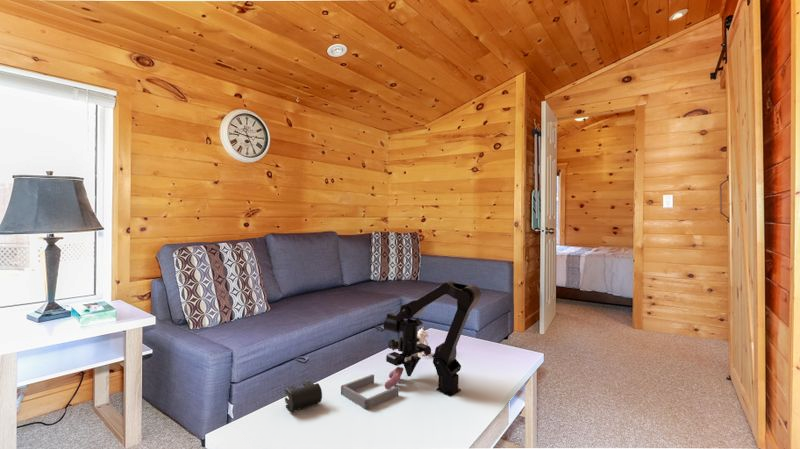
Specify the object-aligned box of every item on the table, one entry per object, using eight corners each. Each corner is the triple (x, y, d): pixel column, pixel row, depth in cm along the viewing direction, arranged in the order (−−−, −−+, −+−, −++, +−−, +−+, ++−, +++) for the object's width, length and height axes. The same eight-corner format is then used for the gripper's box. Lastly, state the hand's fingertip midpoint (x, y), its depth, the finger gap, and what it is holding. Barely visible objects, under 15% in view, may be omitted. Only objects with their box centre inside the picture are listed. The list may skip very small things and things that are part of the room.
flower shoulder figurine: (423, 350, 175) (424, 324, 174) (430, 352, 172) (431, 326, 172) (411, 356, 168) (412, 329, 167) (418, 358, 165) (419, 330, 165)
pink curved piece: (393, 394, 136) (403, 377, 135) (382, 387, 136) (391, 370, 136) (398, 382, 146) (407, 366, 145) (388, 375, 146) (396, 360, 145)
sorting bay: (398, 395, 131) (398, 387, 131) (366, 410, 122) (366, 400, 122) (372, 382, 142) (372, 374, 141) (340, 394, 132) (341, 385, 132)
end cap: (292, 417, 117) (292, 395, 117) (283, 407, 123) (283, 386, 122) (322, 407, 123) (322, 386, 123) (312, 398, 129) (312, 378, 129)
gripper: (412, 325, 157) (411, 363, 157) (376, 335, 144) (376, 376, 145) (432, 332, 148) (431, 371, 149) (396, 343, 136) (396, 386, 136)
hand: (408, 376), depth 145 cm, fingers closed
